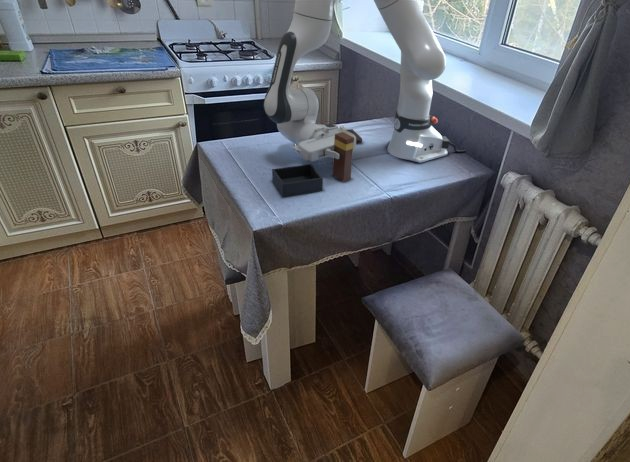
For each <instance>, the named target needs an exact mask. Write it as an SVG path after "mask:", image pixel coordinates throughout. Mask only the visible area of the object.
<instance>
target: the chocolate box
mask: <svg viewBox="0 0 630 462" xmlns="http://www.w3.org/2000/svg"><path fill="white" fill-rule="evenodd" d="M354 148H355V147H354V137H352V136H350V135H348V134H346V133H344V132H341V133H337V134H335V139H334V151H335V152H337V151H338V152H340V153H341V154H342V155H341V158H340V159H335V158H333V162H332V163H333V164H332V177H334V178H335V179H337V180H339V181H341V182H343V183H344V182H347V181H349V180H351V179H352V168H353V167H352V166H353V155H354Z"/></svg>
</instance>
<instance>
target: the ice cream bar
mask: <svg viewBox="0 0 630 462" xmlns="http://www.w3.org/2000/svg"><path fill="white" fill-rule="evenodd" d="M339 129H344V130H346V131H348V132H350V133H352V134H354V135H355V136H356V145H361V144H362V143H363V138H362V137H361V136H360V135H359V133H357V132H356V131H355V130H354V129H353V128H350V129H349V128H348V129H347V128H346V127H345V126H344V125H340V126H339Z"/></svg>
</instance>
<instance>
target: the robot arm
mask: <svg viewBox="0 0 630 462" xmlns="http://www.w3.org/2000/svg"><path fill="white" fill-rule="evenodd" d="M294 1H295V3H294V8H293V16H292V19H291V23H290V25H289V27H288V29H287V32H286V33H284V34H283V36H282V38H281V39H280V41H279V44H278V49H277V52H276V57H275V61H274V66H273V69H272V74H271V77H270V83H269V86H268V88H267V91H266V93H265V96H264V99H263V111H264V113H265V114H266V115H265V116H267V117H268V119H269V120H271V121H272V122H273V123H275V124H276V128H277V130H278V132H279V134H281V136H282V137H283V138H284V139H286V140H288V141H289V142H291V143H293V146H292V150H293V151H295V152H296V153H297V154H298V155H299V156H300V157H301V158H302V159H304V160H305V161H306V162H314V161H317V160H321V159H324V158H333V159H334V158H335V159H340V158H341V155H342V154H341V153H340V152H338V151H337V152H335V151H334V139H335V134H337V133H341V132H344V133H346V134H348V135H350V136H352V137H354V148H355V147H356V145H357V144H356V136H355V135H354V134H352V133H350V132H348V131H346V130H344V129H340V127H339V125H337V124H334V123H333V124H332V123H331V124H320V123H317V121H318V118H319V114H320V110H321V102H320V98H319V95H318V94H317V93H316V92H315V91H314V90H313V89H312V88H309V87H300V88H290V87H291V82H292V79H293V75H294V71H295V67H296V64H297V62H298V61H300V59H301V58H303V57H304V56H305V55H307V54H308V53H310V52H314V51H315V50H317V49H319V48H321V47H322V46H324V44H326V43H327V41H328V39H329V37H330V33H331V30H332V23H333V14H334V8H335V5H336V2H337V0H294ZM373 2H374V4H375V6H376V8H377V10H378V12H379V14H380V15H381V17H382V20H383V22H384V23H385V25H386V27H387V30H388V31H389V33H390V35H391V37H392V38H393V40H394V41H395V43H396V45H397V47H398V49H399V50H400V68H399V69H400V70H399V74H400V75H399V77H400V78H399V93H398V103H397V108H396V111H395V115H394V120H393V131H392V135H391V138H390V141H389V143H388V146H387V147H386V150H387V153H389V154H390V155H391V156H393V157H396V158H399V159H401V160H407V161H412V162H414V163H419V164H421V163H424V162H428V161H431V160H434V159H439V158H442V157H445V156H448V149H449V146H450V145H451V146H452V147H453V151H454V152H455V153H457V154H460V153H467V149H461V150H458V149H457V145H455V143H453V142H452V141H450V139H448V138H447V136H446V135H441V133H440V132H439V131H438V130H436V128H435V127H434V126H433V125H436V124H437V123H438V122H439V120H438V118H437V117H435V116H432V115H430V111H431V106H432V99H433V95H434V93H433V92H434V91H433V81H434V80H437V79H438V78H439V77H440V76H442V74H443V73H444V72H445V69H446V66H447V57H446V55H445V52H444V50H443V48H442V46H441V44H440V42H439V40H438V38H437V36H436V34H435V32H434V31H433V29H432V27H431V26H430V25H431V24H430V23H429V21H428V20H427V18H426V17H425V14H424V13H423V11H422V9H421V7H420V5H419V2H418V1H417V0H373ZM432 124H433V125H432Z"/></svg>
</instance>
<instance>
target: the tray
mask: <svg viewBox="0 0 630 462" xmlns="http://www.w3.org/2000/svg"><path fill="white" fill-rule="evenodd" d="M271 174H272V175H271V176H272V177H271V179H272V183H273V184H274V186H275V187H276V189H277V191H278V192H279V193H280V195H281V197H282V198H284V197H291V196H297V195H304V194H309V193H316V192H322V191H323V187H324V185H323V184H324V181H323V179H324V178H323V177H322V176H321V174H320V173H319V172H318V170H316V168H315V167H314V166H313V165H312V163H307V164H301V165H293V166H286V167H285V166H284V167H278V168H271Z"/></svg>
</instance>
